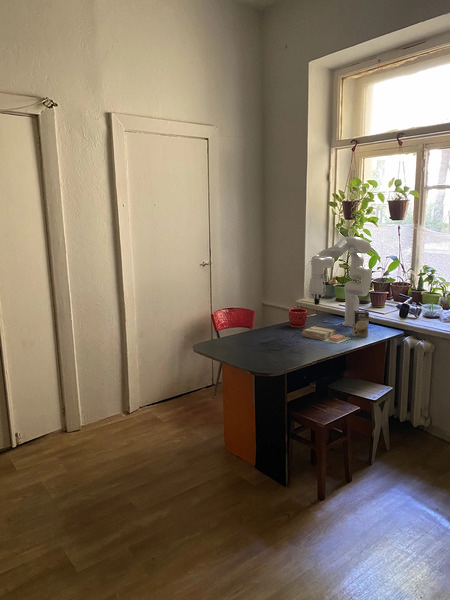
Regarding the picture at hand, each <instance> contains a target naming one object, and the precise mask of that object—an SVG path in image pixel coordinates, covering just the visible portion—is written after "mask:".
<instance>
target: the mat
mask: <svg viewBox="0 0 450 600" xmlns="http://www.w3.org/2000/svg"><path fill="white" fill-rule="evenodd" d="M351 338H352V337H348V336H345V339H343V340H341V341H338V342H335V341H331V340H329V338H328V339H325V340H322V341H323V342H327V343H332V344H337V345H340V344H341V343H344V342H346V341H348V340H350V339H351Z"/></svg>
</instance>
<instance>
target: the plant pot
mask: <svg viewBox="0 0 450 600" xmlns="http://www.w3.org/2000/svg"><path fill="white" fill-rule="evenodd" d="M288 319H289V323H288V324H289V326H290V327H291V328H295V329H301V328H304V327H305V326H306V322H307V319H308V310H307V309H304V308H290V309H288Z"/></svg>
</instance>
